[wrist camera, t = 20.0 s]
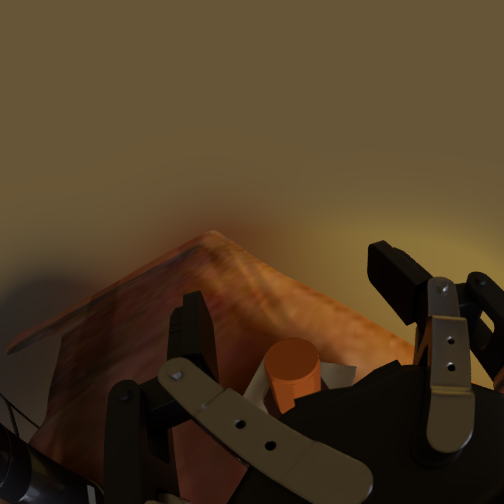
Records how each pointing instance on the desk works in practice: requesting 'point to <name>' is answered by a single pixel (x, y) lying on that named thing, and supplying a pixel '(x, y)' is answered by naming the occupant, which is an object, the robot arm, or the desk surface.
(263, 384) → the grey stone tile
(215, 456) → the desk surface
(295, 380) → the hat
